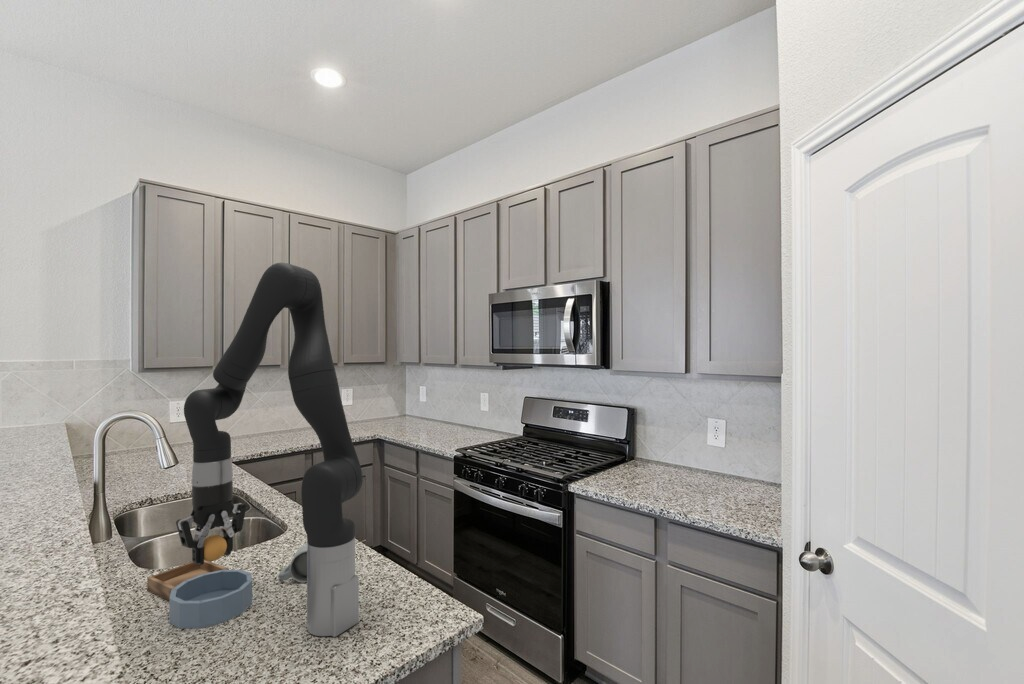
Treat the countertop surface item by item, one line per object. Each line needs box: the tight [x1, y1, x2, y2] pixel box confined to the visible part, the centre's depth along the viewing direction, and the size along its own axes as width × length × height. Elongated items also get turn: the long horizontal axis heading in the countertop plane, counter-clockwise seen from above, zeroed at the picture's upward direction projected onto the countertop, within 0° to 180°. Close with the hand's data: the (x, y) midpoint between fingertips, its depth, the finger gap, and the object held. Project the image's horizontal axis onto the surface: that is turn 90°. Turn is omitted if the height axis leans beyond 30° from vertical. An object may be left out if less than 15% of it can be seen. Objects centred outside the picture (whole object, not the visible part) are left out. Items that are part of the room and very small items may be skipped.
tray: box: [146, 560, 230, 602], centre depth 115 cm, size 12×12×3 cm
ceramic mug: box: [277, 542, 307, 584], centre depth 120 cm, size 11×8×8 cm
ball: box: [202, 534, 227, 562], centre depth 105 cm, size 5×5×5 cm
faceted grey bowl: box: [168, 569, 253, 629], centre depth 105 cm, size 15×15×5 cm
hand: (213, 558), depth 105 cm, fingers closed on ball, 5 cm apart
